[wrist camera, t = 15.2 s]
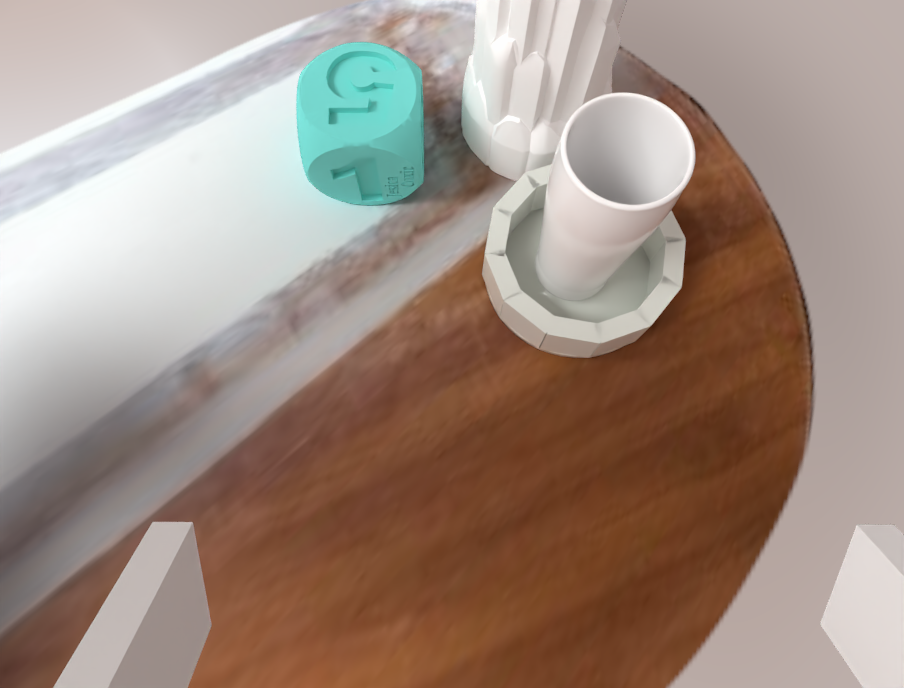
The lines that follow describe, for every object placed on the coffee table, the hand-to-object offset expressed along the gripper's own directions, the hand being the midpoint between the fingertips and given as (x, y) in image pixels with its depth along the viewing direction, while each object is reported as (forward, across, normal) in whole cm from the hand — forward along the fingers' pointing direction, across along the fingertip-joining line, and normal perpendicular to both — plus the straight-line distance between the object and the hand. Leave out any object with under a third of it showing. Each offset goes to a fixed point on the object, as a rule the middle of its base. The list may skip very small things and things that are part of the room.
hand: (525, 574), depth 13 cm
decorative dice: (+41, -7, +2) cm, 41 cm away
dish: (+34, +8, -5) cm, 35 cm away
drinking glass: (+34, +8, -4) cm, 35 cm away
